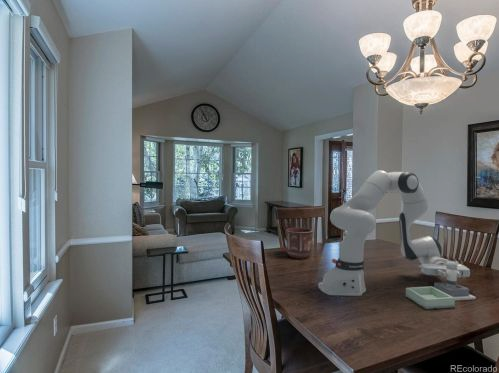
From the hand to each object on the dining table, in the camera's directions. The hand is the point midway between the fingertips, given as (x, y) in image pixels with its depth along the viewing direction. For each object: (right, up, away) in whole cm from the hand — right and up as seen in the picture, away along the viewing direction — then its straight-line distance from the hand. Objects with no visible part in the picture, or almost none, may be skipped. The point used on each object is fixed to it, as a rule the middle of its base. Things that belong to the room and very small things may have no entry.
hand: (452, 275), depth 139 cm
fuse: (0, -8, +1) cm, 8 cm away
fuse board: (0, -9, +1) cm, 9 cm away
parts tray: (-15, -9, -7) cm, 19 cm away
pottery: (-60, -6, +64) cm, 88 cm away
